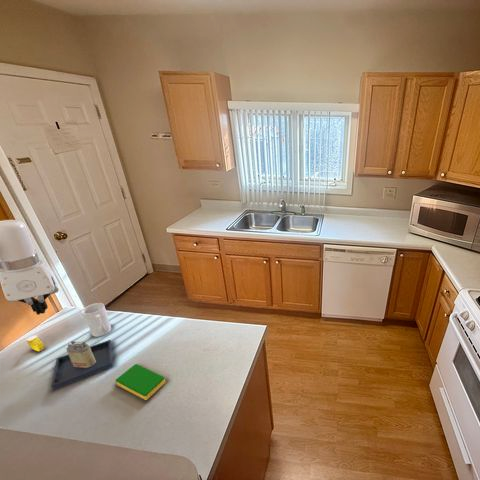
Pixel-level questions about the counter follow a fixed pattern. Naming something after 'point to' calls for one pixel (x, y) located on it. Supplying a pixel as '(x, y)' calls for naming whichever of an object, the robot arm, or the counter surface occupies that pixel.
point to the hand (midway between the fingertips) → (41, 311)
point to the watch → (35, 343)
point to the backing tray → (70, 374)
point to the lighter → (80, 354)
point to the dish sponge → (140, 381)
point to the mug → (97, 319)
